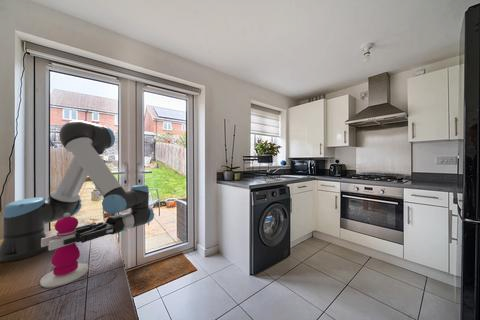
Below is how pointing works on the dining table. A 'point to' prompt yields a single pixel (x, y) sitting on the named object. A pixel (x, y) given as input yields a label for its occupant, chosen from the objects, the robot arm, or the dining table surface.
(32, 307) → the dining table surface
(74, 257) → the pepper mill
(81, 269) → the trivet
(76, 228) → the robot arm
